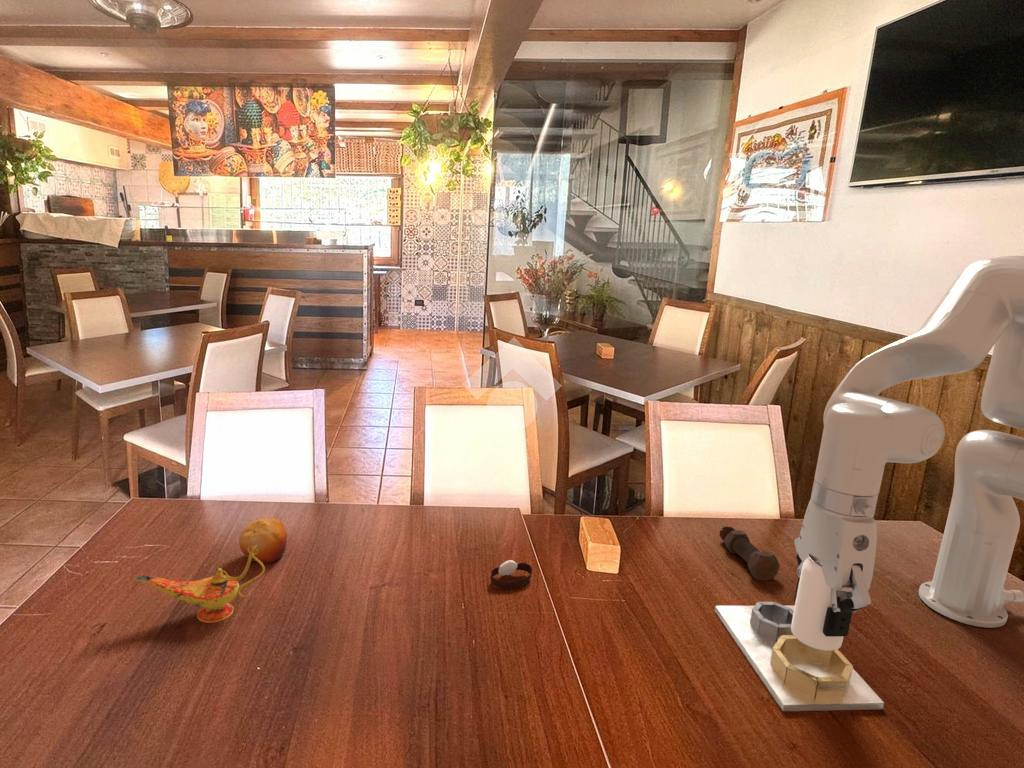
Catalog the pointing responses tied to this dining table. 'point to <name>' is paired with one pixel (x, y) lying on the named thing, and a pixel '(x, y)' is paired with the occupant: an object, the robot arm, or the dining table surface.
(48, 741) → the dining table surface
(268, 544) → the fruit
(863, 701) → the plate
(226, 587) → the magic lamp
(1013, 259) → the robot arm
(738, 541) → the bolt
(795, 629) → the can
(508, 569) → the watch
